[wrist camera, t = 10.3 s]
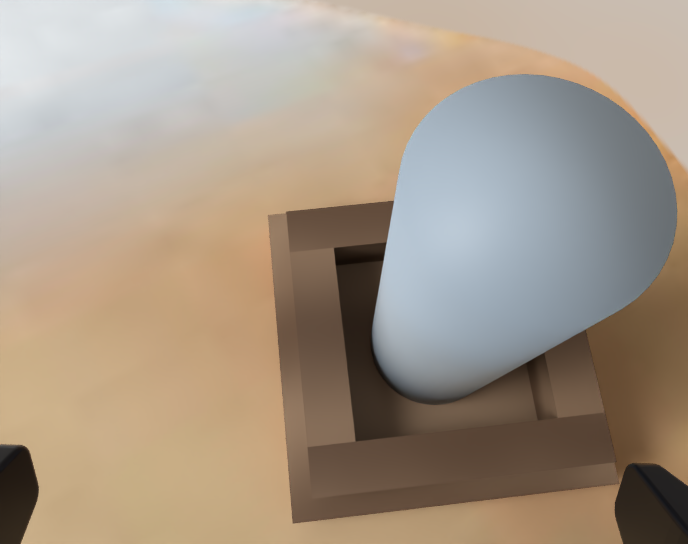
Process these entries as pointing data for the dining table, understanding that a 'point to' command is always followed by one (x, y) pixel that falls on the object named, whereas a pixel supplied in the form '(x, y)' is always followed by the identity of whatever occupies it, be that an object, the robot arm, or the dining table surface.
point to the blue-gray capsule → (514, 232)
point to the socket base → (401, 413)
